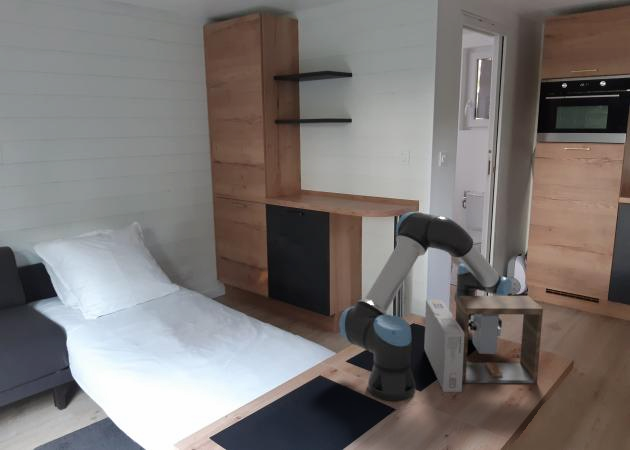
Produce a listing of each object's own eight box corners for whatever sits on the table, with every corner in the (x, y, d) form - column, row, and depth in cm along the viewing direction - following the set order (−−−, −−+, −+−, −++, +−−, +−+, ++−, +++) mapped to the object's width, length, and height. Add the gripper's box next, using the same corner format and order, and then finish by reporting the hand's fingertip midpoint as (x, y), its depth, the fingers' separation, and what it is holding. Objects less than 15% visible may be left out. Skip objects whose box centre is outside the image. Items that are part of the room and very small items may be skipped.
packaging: (462, 391, 157) (464, 333, 153) (442, 391, 157) (445, 333, 153) (440, 349, 187) (442, 299, 183) (424, 349, 187) (425, 299, 183)
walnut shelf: (462, 382, 162) (465, 308, 157) (453, 365, 174) (456, 295, 169) (536, 383, 161) (542, 308, 156) (523, 365, 173) (528, 295, 168)
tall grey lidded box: (479, 353, 174) (481, 313, 171) (472, 342, 183) (474, 304, 180) (496, 353, 174) (498, 313, 171) (488, 342, 183) (490, 304, 180)
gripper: (495, 317, 195) (516, 342, 172) (447, 317, 196) (461, 342, 173) (496, 299, 193) (517, 322, 171) (448, 299, 194) (462, 322, 172)
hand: (489, 332), depth 172 cm, fingers closed on tall grey lidded box, 6 cm apart
